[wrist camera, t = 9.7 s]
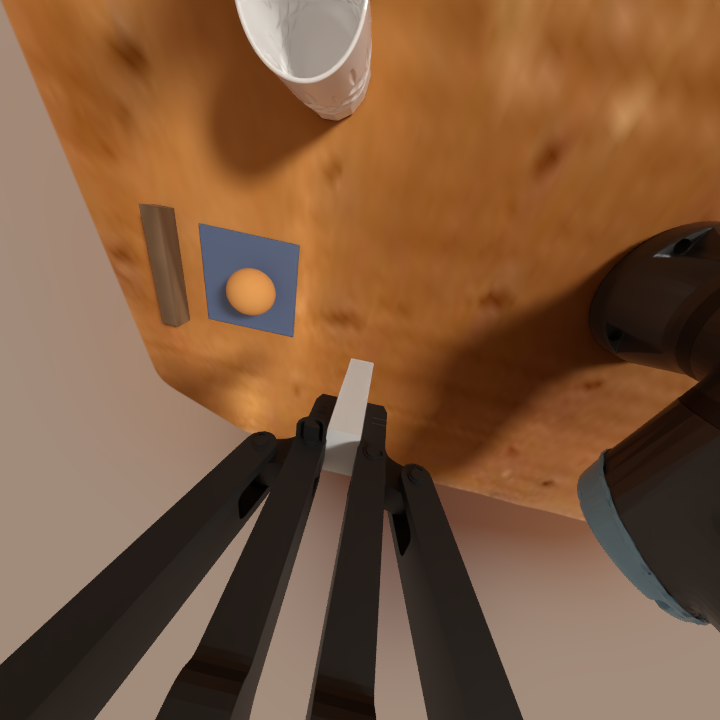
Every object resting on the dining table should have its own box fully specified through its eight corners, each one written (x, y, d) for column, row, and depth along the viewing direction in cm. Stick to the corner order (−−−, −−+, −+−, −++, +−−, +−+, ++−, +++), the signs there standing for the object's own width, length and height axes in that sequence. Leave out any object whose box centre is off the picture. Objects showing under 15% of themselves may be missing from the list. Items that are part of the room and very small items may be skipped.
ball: (266, 263, 33) (283, 276, 30) (266, 304, 36) (282, 320, 32) (218, 261, 30) (231, 275, 26) (222, 306, 33) (234, 324, 29)
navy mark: (299, 245, 31) (298, 245, 30) (293, 336, 37) (292, 336, 36) (199, 223, 31) (198, 223, 30) (209, 318, 37) (208, 318, 36)
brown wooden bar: (173, 208, 30) (156, 207, 28) (189, 320, 37) (177, 326, 35) (156, 204, 30) (138, 203, 28) (176, 317, 37) (162, 323, 35)
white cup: (334, 150, 26) (306, 117, 17) (273, 72, 24) (205, -11, 15) (395, 71, 23) (399, -18, 14) (332, -28, 21) (289, -206, 12)
